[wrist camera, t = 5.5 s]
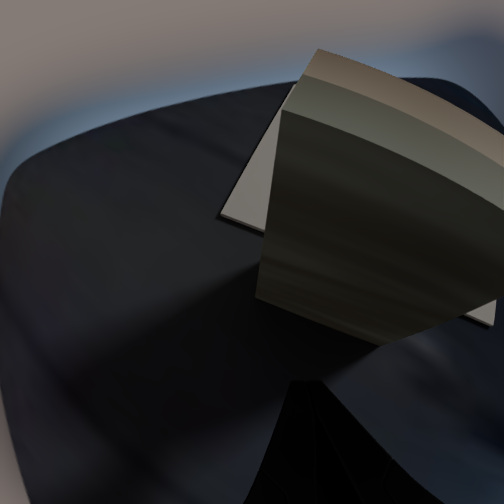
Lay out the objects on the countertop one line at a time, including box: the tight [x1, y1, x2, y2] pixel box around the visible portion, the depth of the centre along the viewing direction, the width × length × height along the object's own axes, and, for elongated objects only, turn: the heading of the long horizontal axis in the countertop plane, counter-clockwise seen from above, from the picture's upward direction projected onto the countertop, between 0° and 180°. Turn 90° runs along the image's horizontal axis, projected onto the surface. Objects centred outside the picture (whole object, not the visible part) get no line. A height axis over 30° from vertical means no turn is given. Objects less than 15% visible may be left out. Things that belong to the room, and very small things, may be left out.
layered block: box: [255, 49, 504, 346], centre depth 11 cm, size 2×7×12 cm, turn 67°
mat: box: [221, 84, 496, 327], centre depth 19 cm, size 13×18×1 cm
